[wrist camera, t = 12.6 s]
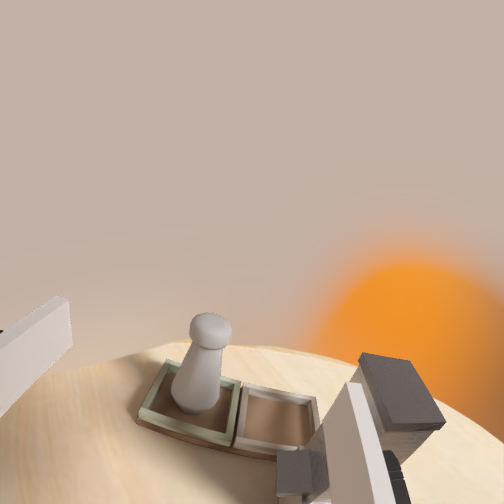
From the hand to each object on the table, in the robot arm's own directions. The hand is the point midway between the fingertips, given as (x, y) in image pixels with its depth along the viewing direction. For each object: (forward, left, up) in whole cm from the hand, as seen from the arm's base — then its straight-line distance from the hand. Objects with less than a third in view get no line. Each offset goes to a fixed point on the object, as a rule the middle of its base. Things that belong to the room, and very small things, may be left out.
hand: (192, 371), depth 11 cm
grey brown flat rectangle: (-5, -15, -20) cm, 26 cm away
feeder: (-12, -4, -20) cm, 24 cm away
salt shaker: (+1, -15, -19) cm, 25 cm away
